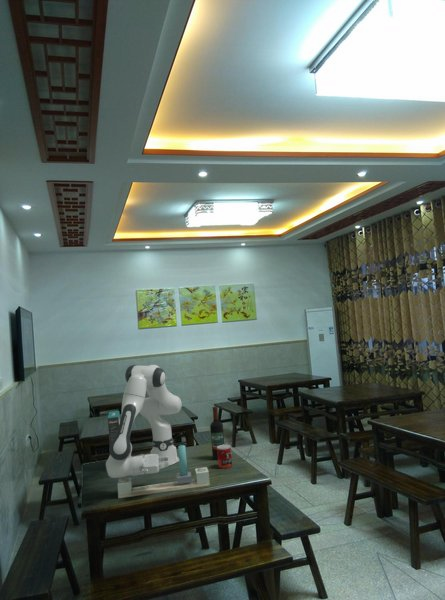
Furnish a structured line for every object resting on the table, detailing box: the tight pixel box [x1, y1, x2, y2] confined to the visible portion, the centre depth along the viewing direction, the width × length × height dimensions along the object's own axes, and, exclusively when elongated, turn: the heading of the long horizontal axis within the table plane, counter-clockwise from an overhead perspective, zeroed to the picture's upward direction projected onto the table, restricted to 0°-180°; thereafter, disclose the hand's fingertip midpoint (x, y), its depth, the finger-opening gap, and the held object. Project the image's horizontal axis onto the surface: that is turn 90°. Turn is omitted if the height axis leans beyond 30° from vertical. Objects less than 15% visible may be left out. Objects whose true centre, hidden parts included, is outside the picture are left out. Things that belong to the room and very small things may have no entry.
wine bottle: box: [209, 406, 225, 461], centre depth 267 cm, size 8×8×30 cm
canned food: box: [217, 444, 233, 470], centre depth 250 cm, size 8×8×11 cm
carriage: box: [176, 444, 193, 484], centre depth 225 cm, size 7×7×17 cm
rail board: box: [116, 466, 211, 499], centre depth 223 cm, size 8×44×7 cm, turn 99°
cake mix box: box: [107, 410, 121, 445], centre depth 272 cm, size 22×6×30 cm, turn 12°
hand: (168, 461), depth 224 cm, fingers open, 8 cm apart
